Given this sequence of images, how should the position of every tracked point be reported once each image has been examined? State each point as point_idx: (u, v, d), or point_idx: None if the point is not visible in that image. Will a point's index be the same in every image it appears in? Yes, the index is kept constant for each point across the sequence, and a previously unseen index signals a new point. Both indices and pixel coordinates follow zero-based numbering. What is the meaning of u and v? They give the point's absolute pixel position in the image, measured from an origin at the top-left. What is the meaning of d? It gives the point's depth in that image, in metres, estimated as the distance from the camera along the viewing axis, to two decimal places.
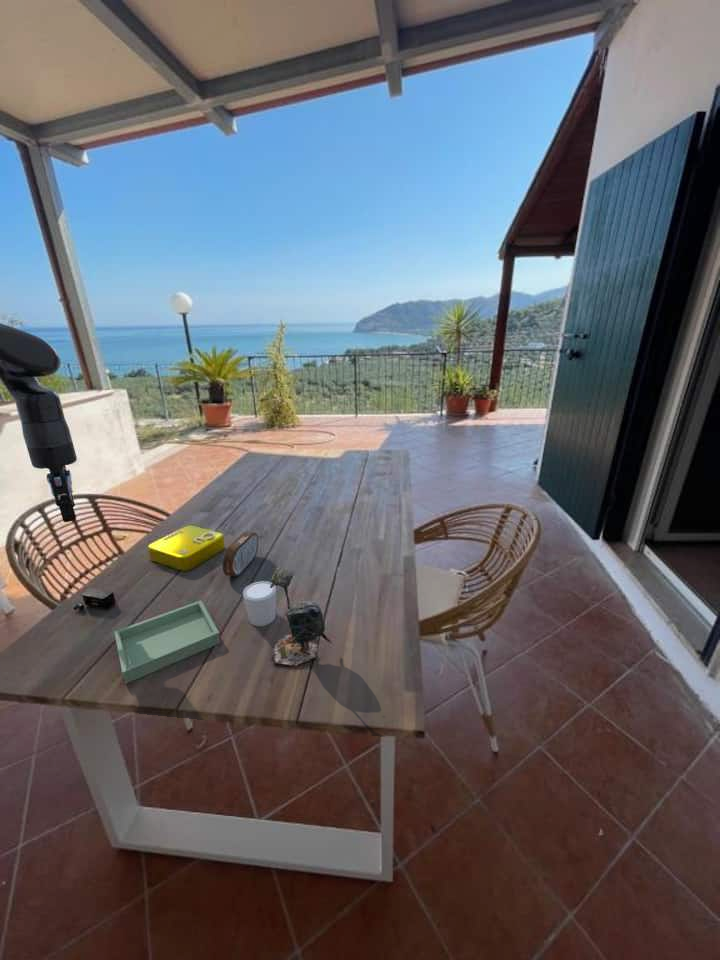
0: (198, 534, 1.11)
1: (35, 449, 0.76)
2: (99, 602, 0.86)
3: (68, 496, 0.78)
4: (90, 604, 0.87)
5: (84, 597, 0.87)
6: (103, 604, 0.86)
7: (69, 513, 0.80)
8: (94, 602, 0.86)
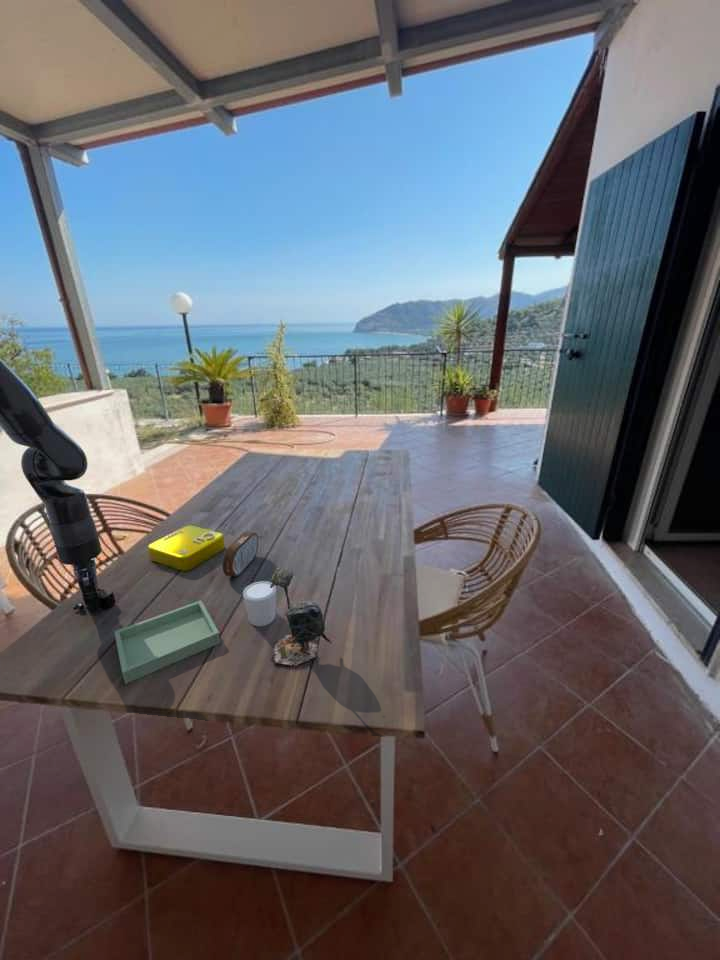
0: (198, 534, 1.11)
1: (63, 548, 0.79)
2: None
3: (95, 592, 0.81)
4: None
5: None
6: (103, 604, 0.86)
7: (95, 604, 0.84)
8: None
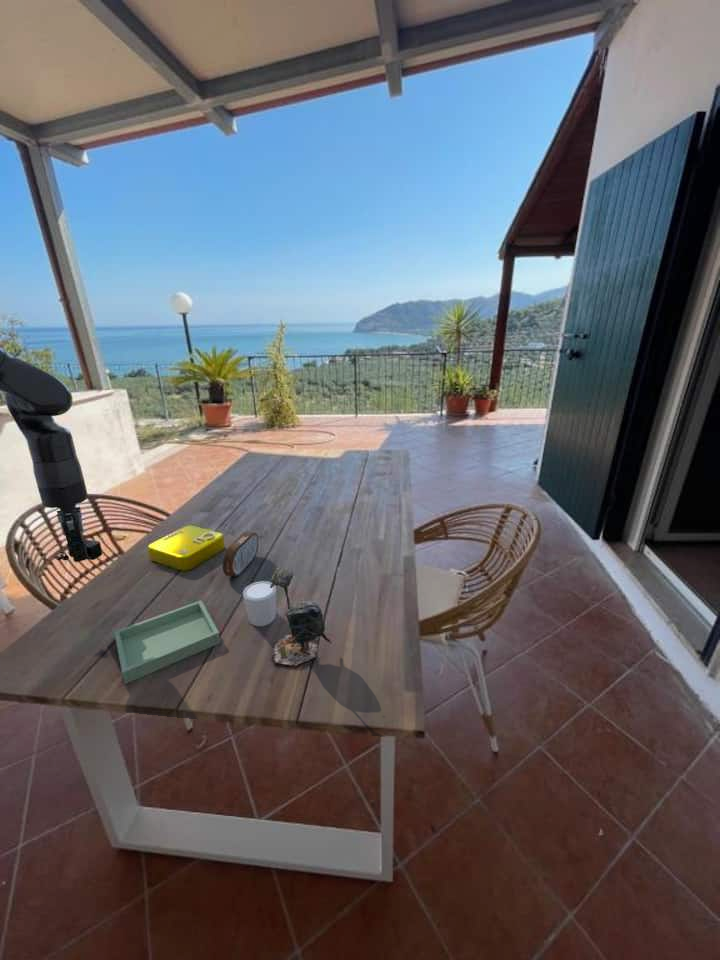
0: (198, 534, 1.11)
1: (46, 489, 0.74)
2: None
3: (80, 538, 0.77)
4: None
5: None
6: (89, 554, 0.81)
7: (80, 553, 0.79)
8: None
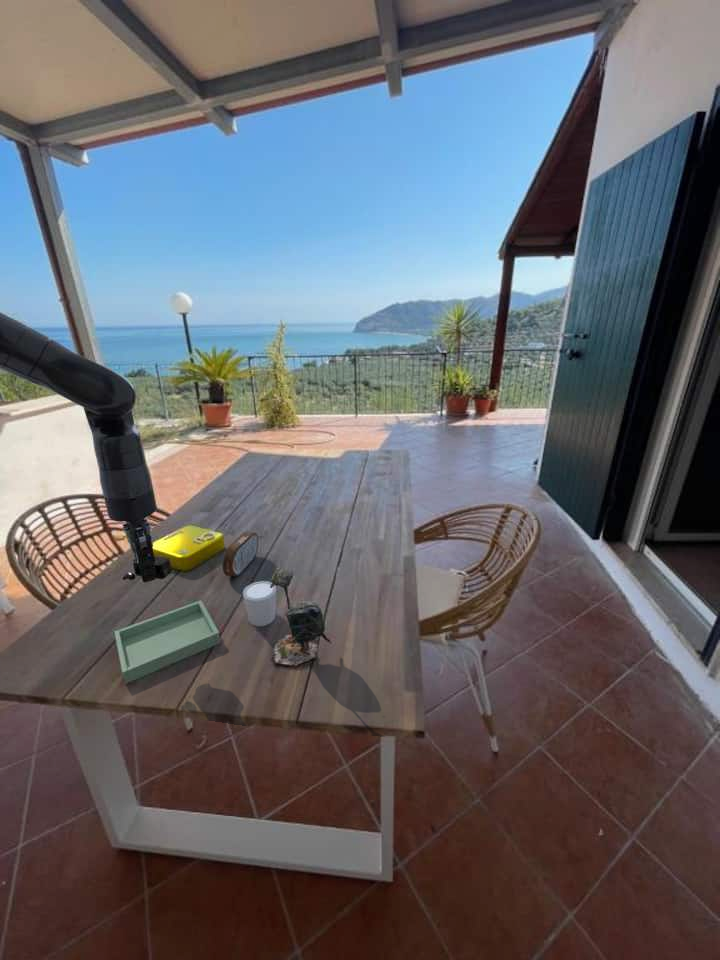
0: (198, 534, 1.11)
1: (115, 500, 0.64)
2: None
3: (152, 556, 0.67)
4: None
5: (135, 565, 0.72)
6: (158, 572, 0.71)
7: (150, 572, 0.69)
8: None
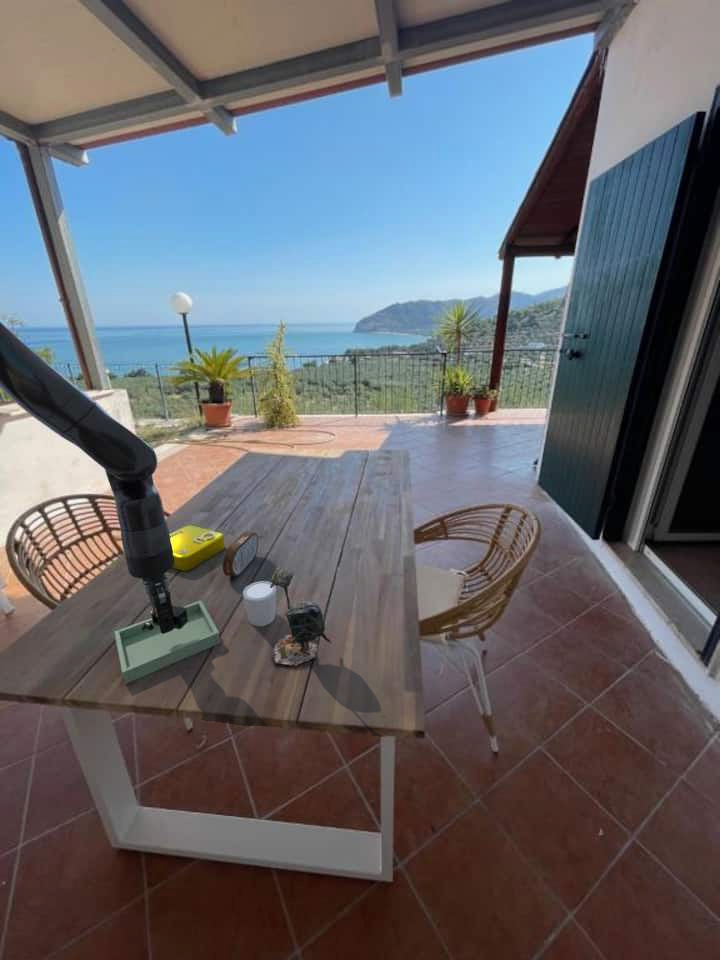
0: (198, 534, 1.11)
1: (136, 559, 0.66)
2: None
3: (171, 611, 0.69)
4: None
5: (153, 615, 0.74)
6: (176, 623, 0.74)
7: (168, 624, 0.72)
8: None
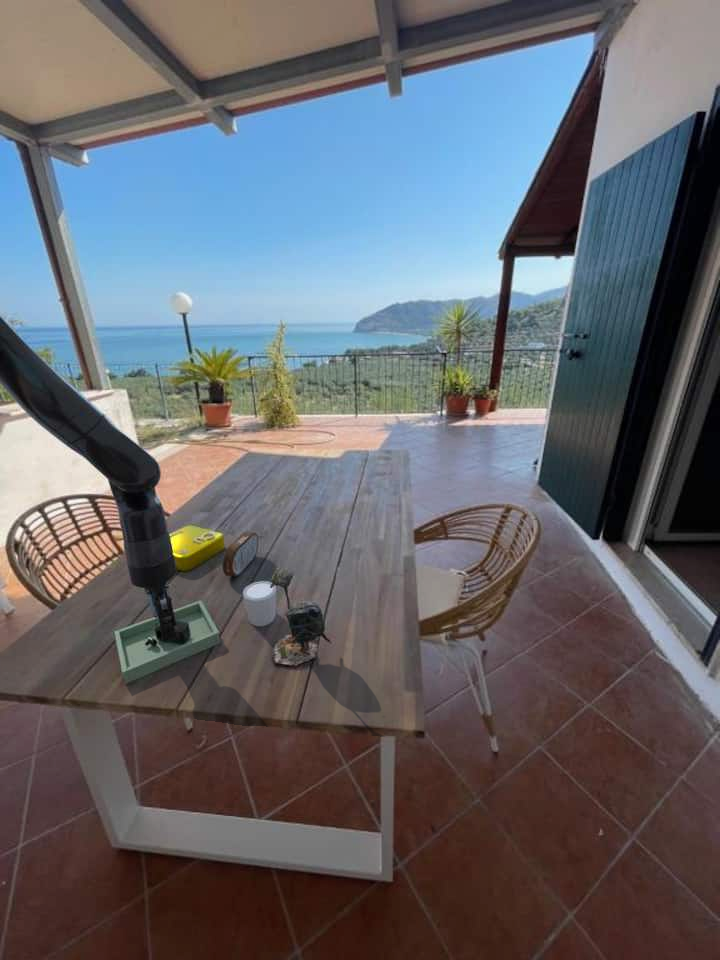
0: (198, 534, 1.11)
1: (139, 568, 0.67)
2: None
3: (173, 619, 0.69)
4: None
5: (156, 631, 0.76)
6: (179, 638, 0.75)
7: (170, 634, 0.71)
8: None
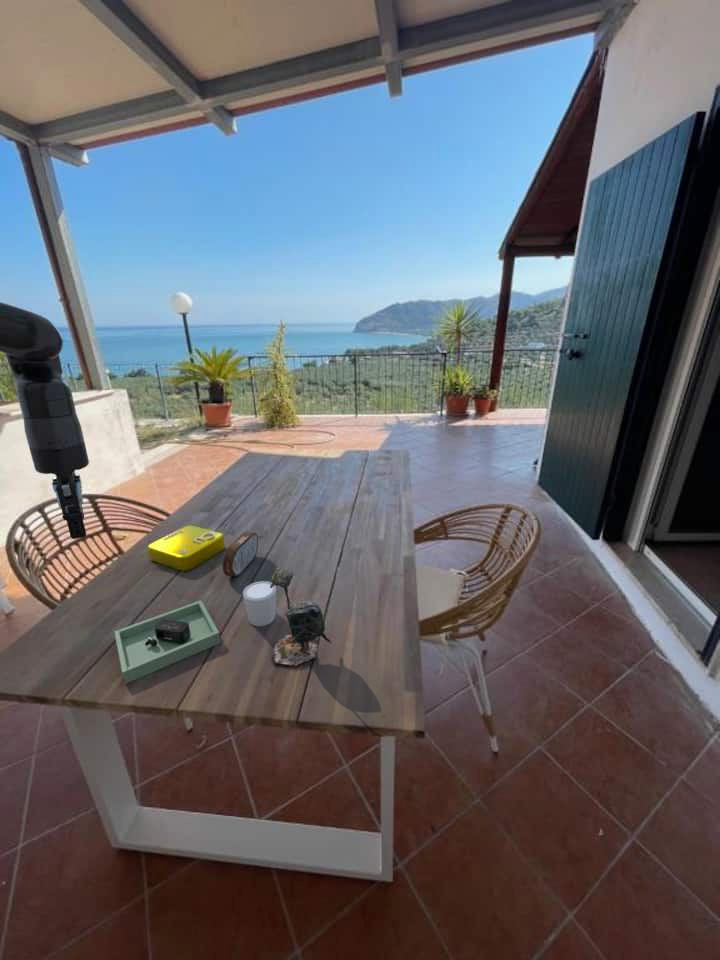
0: (198, 534, 1.11)
1: (39, 450, 0.62)
2: (174, 637, 0.75)
3: (78, 508, 0.64)
4: (163, 639, 0.76)
5: (156, 631, 0.76)
6: (179, 638, 0.75)
7: (78, 528, 0.66)
8: (168, 637, 0.75)
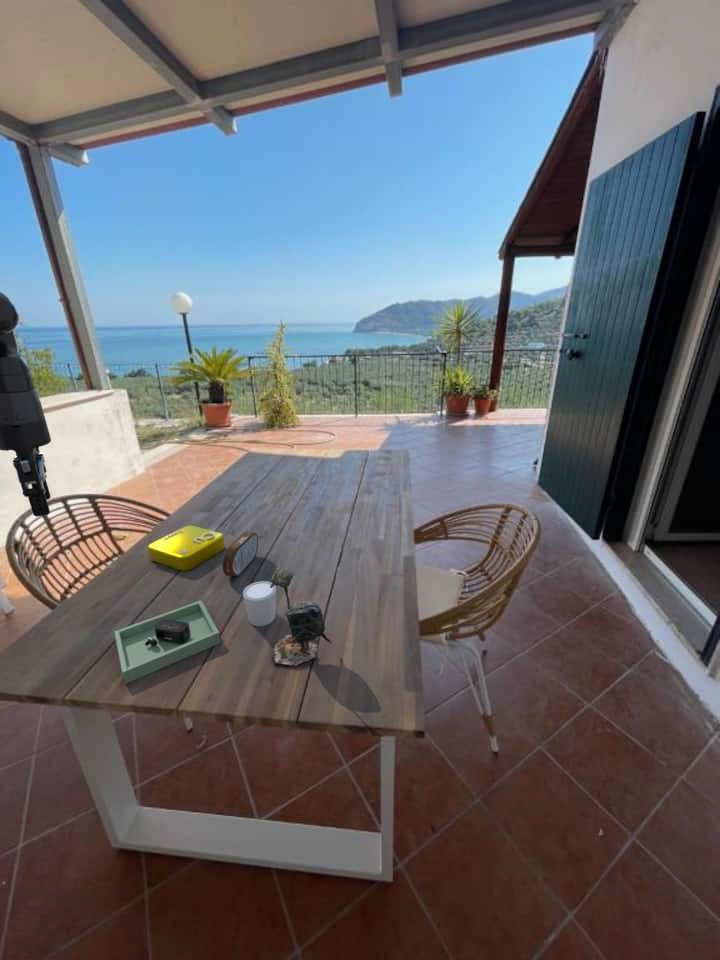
0: (198, 534, 1.11)
1: None
2: (174, 637, 0.75)
3: (38, 484, 0.64)
4: (163, 639, 0.76)
5: (156, 631, 0.76)
6: (179, 638, 0.75)
7: (41, 505, 0.66)
8: (168, 637, 0.75)
